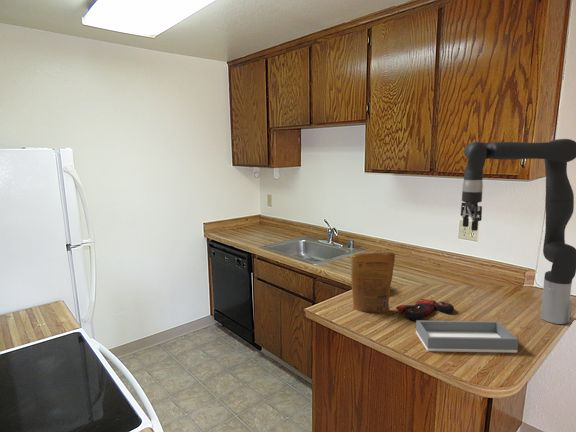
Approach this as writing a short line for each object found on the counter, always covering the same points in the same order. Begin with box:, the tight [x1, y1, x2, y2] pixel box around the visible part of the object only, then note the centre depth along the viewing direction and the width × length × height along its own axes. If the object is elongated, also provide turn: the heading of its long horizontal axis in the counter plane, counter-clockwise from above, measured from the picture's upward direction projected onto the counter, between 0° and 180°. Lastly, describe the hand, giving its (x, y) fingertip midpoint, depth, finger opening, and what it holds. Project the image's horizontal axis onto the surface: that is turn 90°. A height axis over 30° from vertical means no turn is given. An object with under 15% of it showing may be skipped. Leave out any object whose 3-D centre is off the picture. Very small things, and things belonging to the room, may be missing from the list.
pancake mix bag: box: [350, 251, 396, 314], centre depth 159 cm, size 7×19×28 cm, turn 84°
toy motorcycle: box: [395, 298, 455, 321], centre depth 161 cm, size 25×5×16 cm
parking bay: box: [415, 320, 519, 354], centre depth 134 cm, size 31×14×5 cm, turn 87°
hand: (469, 228), depth 153 cm, fingers open, 8 cm apart
